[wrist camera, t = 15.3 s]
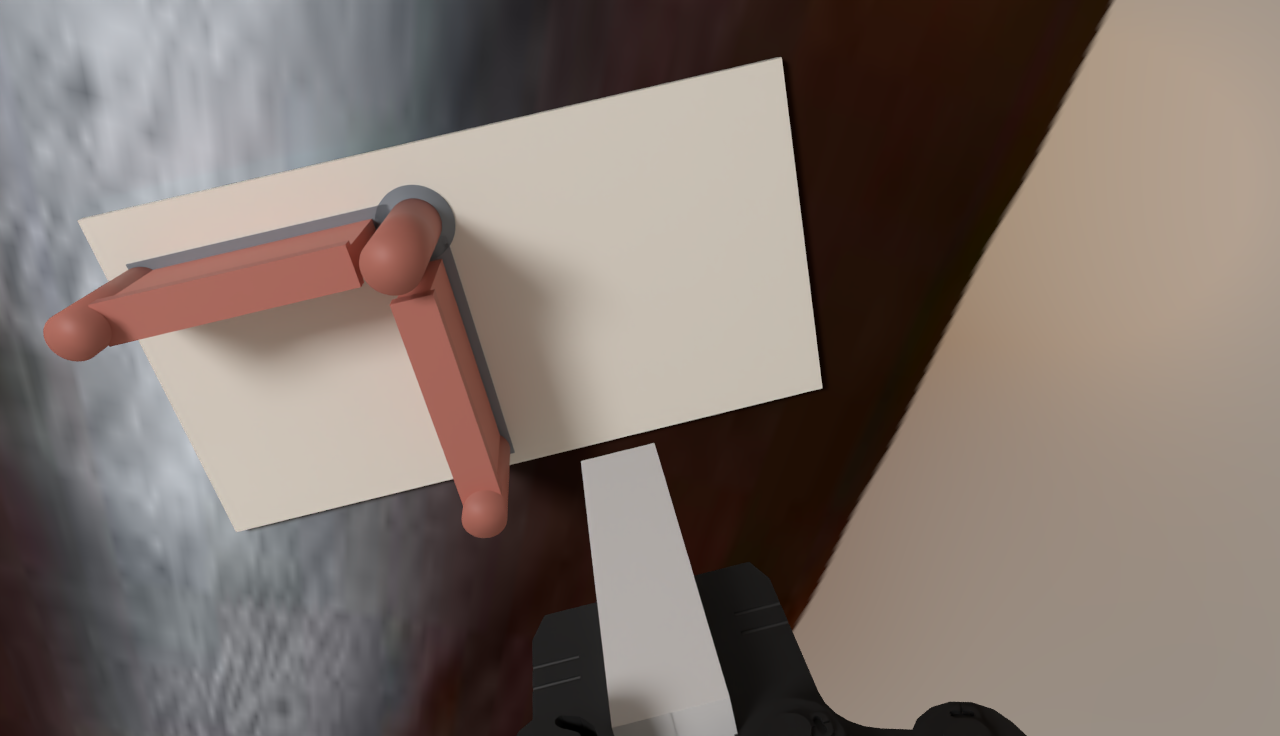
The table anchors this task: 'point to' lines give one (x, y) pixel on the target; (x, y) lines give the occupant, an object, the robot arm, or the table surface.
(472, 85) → the table surface
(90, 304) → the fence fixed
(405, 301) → the red wall panel
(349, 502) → the card
